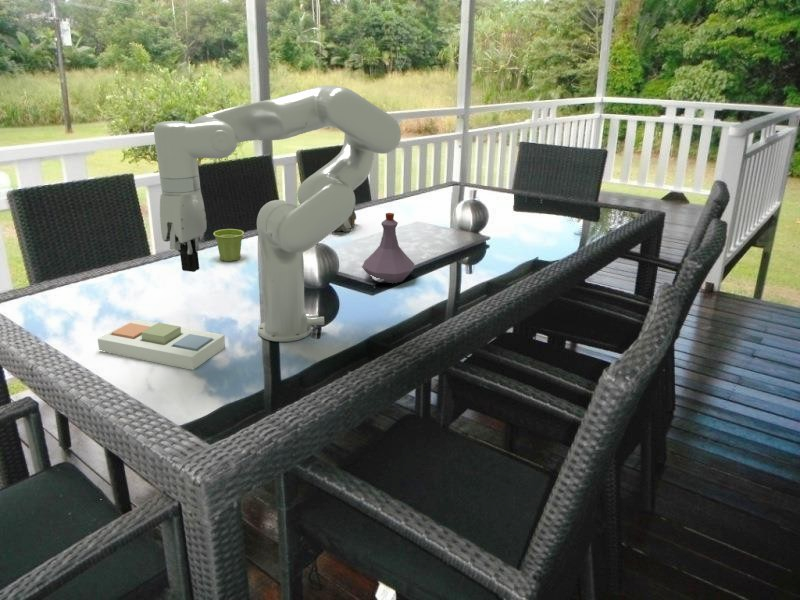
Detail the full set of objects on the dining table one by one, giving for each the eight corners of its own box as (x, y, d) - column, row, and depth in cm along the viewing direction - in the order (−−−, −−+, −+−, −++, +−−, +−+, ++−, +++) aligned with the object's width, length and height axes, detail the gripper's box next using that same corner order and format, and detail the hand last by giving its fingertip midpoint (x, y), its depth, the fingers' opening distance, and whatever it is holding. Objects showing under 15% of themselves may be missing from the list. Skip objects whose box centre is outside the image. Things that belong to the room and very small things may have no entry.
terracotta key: (152, 335, 144) (151, 326, 143) (134, 345, 138) (133, 336, 138) (131, 331, 145) (129, 322, 144) (113, 341, 140) (111, 332, 139)
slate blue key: (212, 346, 139) (211, 337, 138) (197, 357, 134) (196, 348, 133) (190, 342, 141) (189, 333, 140) (173, 353, 136) (173, 344, 135)
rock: (356, 188, 230) (321, 177, 235) (339, 221, 226) (303, 209, 231) (367, 213, 247) (334, 202, 252) (351, 244, 243) (318, 232, 248)
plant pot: (249, 255, 207) (247, 229, 203) (239, 264, 198) (238, 237, 195) (221, 253, 207) (219, 228, 204) (210, 262, 199) (208, 235, 195)
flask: (350, 281, 186) (350, 215, 179) (377, 267, 200) (379, 205, 193) (399, 292, 179) (401, 223, 172) (424, 276, 193) (427, 212, 186)
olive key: (181, 335, 141) (180, 326, 140) (164, 345, 136) (163, 336, 135) (159, 331, 142) (158, 322, 142) (142, 341, 137) (141, 332, 137)
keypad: (225, 347, 142) (224, 334, 141) (193, 370, 131) (191, 357, 130) (136, 330, 149) (135, 318, 148) (99, 351, 138) (97, 338, 137)
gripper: (185, 176, 135) (195, 258, 142) (141, 190, 122) (154, 279, 128) (216, 179, 133) (224, 261, 140) (175, 193, 120) (186, 283, 127)
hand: (190, 269), depth 134 cm, fingers closed
